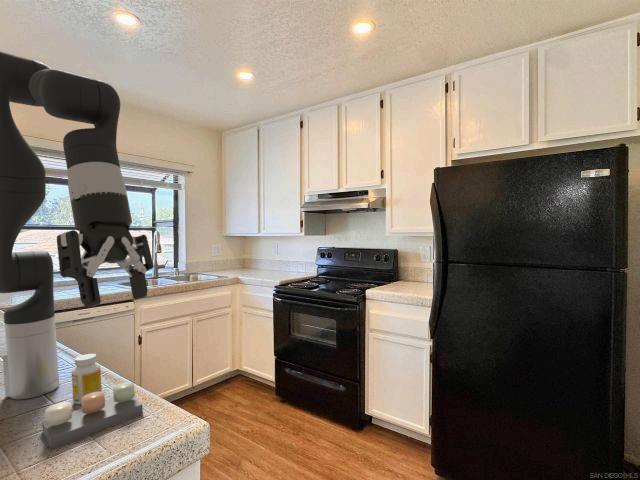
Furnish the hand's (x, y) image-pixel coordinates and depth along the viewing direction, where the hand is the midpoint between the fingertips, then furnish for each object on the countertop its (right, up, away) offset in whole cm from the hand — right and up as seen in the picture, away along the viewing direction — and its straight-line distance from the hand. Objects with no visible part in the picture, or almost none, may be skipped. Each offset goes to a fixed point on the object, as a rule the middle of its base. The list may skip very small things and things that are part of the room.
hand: (118, 301), depth 53 cm
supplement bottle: (-22, -27, +26) cm, 43 cm away
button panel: (-14, -26, +16) cm, 34 cm away
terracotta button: (-14, -24, +16) cm, 32 cm away
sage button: (-10, -23, +20) cm, 32 cm away
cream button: (-18, -24, +12) cm, 32 cm away
